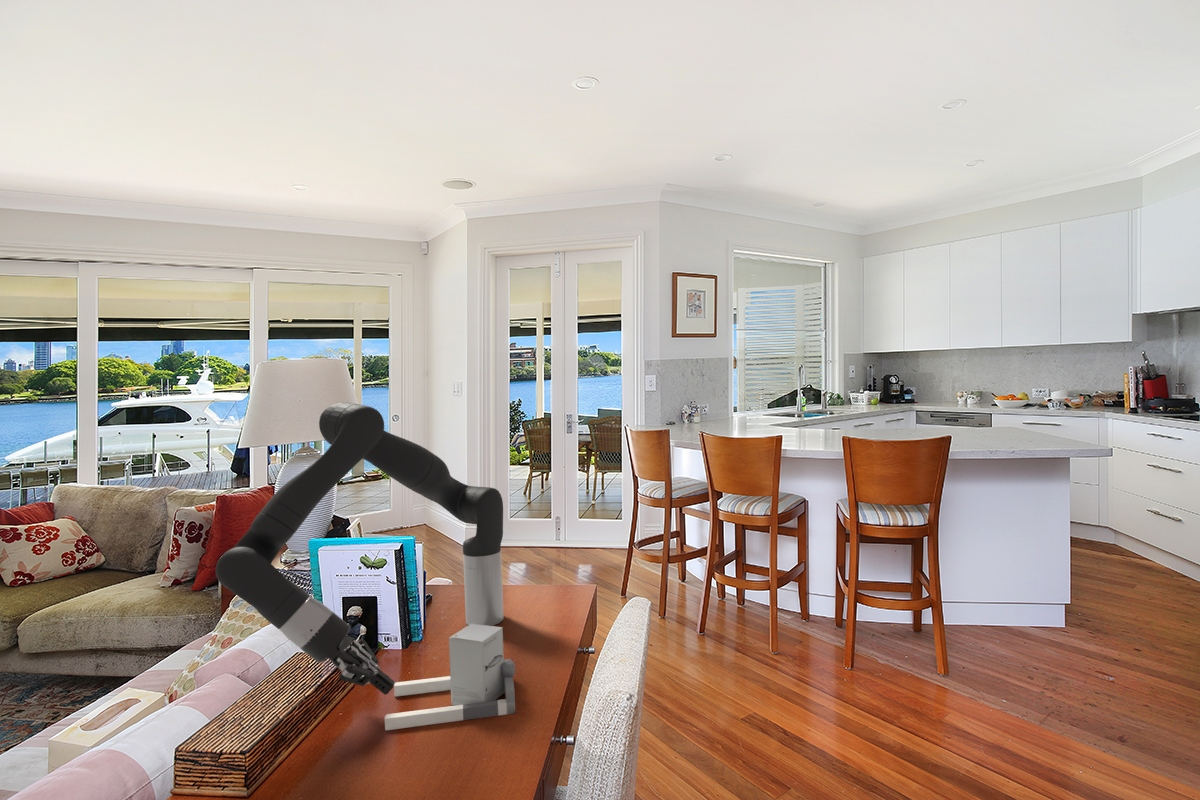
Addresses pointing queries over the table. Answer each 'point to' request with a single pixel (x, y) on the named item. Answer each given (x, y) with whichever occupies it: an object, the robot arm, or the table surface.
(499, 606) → the robot arm
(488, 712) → the guide channel
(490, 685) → the supplement box
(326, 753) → the table surface
